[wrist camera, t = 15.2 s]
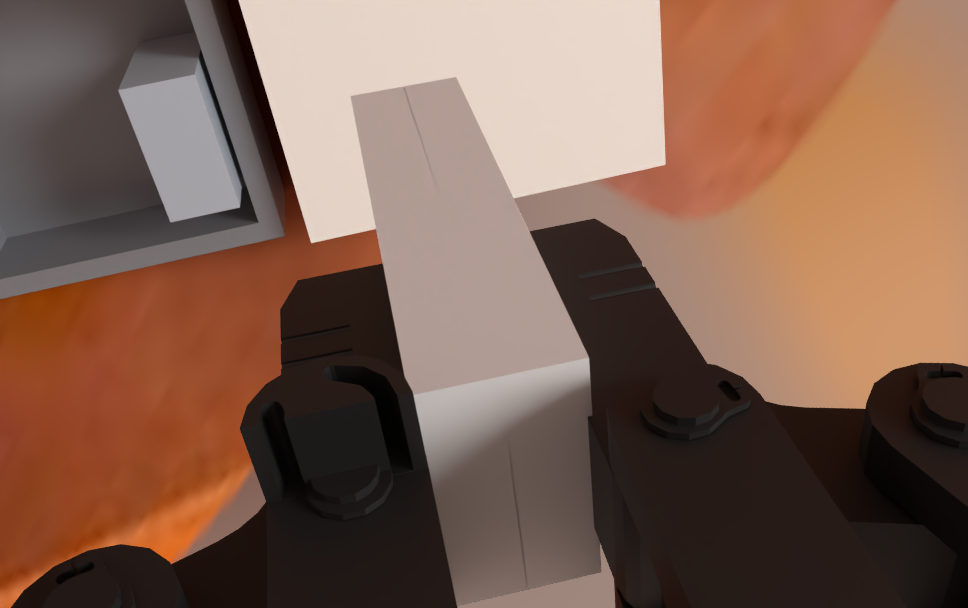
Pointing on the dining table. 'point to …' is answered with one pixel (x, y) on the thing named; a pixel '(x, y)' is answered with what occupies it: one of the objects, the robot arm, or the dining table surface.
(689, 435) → the robot arm
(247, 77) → the box
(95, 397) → the dining table surface
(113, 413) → the dining table surface
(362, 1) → the raised board
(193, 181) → the slate tile
